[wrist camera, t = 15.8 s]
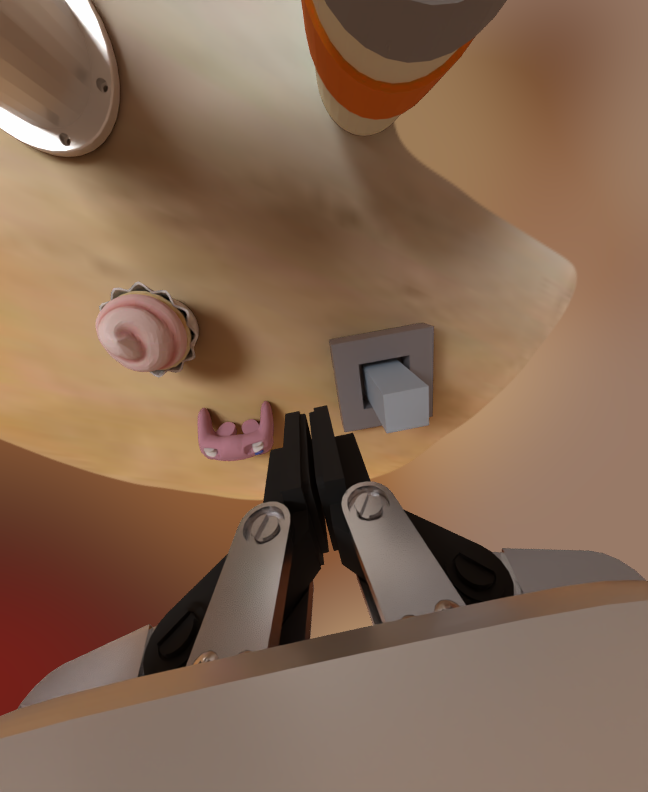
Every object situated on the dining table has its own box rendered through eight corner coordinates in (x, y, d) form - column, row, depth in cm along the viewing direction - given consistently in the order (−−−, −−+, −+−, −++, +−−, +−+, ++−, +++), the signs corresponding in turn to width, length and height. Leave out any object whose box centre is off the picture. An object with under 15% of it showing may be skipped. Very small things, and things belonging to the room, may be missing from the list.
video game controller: (210, 424, 38) (201, 469, 33) (196, 405, 34) (184, 453, 30) (277, 416, 38) (276, 460, 33) (270, 397, 34) (269, 443, 30)
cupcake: (229, 342, 31) (198, 366, 22) (167, 375, 32) (113, 412, 23) (178, 265, 28) (116, 257, 19) (110, 306, 29) (20, 318, 20)
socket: (328, 339, 32) (331, 345, 29) (422, 322, 32) (433, 326, 29) (341, 421, 37) (344, 432, 34) (423, 406, 37) (432, 416, 34)
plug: (361, 364, 33) (383, 394, 24) (394, 357, 33) (428, 386, 24) (365, 394, 35) (386, 433, 26) (396, 388, 35) (429, 425, 26)
